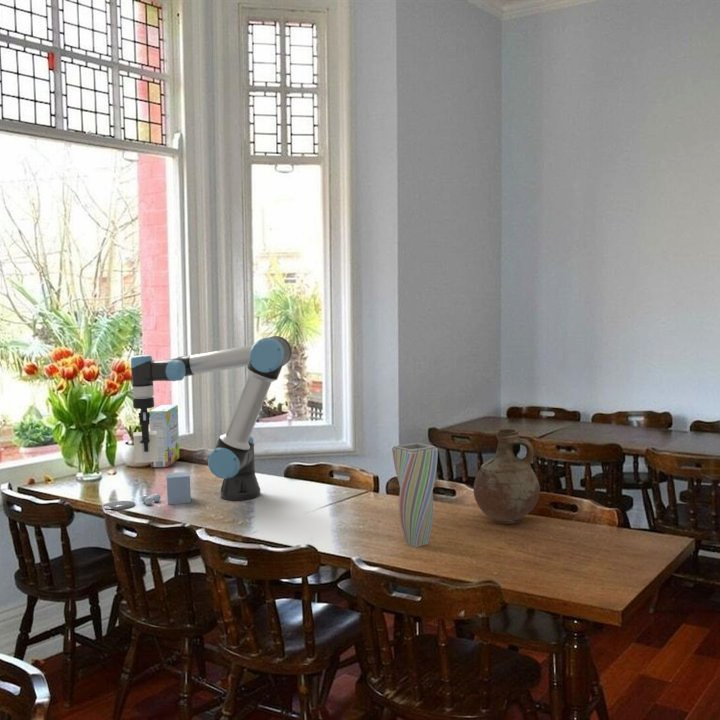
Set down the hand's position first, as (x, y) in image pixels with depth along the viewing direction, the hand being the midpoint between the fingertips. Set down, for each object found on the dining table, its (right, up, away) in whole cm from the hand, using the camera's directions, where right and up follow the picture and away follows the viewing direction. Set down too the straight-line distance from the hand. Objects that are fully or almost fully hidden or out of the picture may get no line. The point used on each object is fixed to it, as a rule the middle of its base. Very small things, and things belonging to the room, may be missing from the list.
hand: (146, 457), depth 318 cm
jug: (+128, -17, -35) cm, 133 cm away
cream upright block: (0, -1, 0) cm, 1 cm away
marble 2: (+1, -17, 0) cm, 17 cm away
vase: (+96, -20, -57) cm, 114 cm away
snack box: (-10, -11, +75) cm, 77 cm away
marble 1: (-2, -17, +3) cm, 17 cm away
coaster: (-10, -18, -1) cm, 20 cm away
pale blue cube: (+11, -17, +4) cm, 21 cm away
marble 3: (+2, -17, +4) cm, 17 cm away
